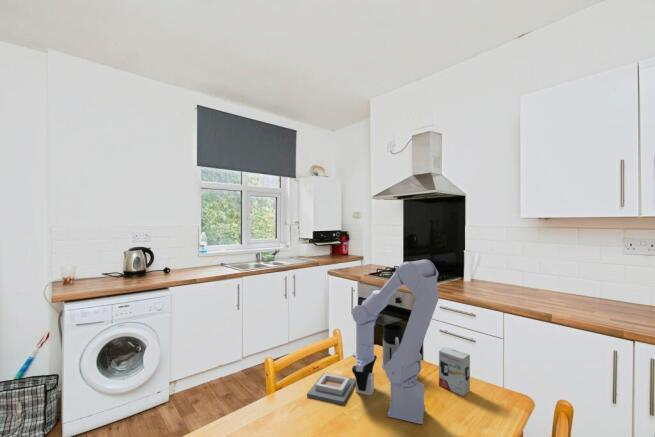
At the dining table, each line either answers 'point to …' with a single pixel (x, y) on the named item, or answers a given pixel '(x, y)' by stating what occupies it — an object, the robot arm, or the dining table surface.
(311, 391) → the socket dock
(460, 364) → the ink box
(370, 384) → the plug
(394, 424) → the dining table surface
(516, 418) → the dining table surface
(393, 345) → the glass holder
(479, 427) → the dining table surface
